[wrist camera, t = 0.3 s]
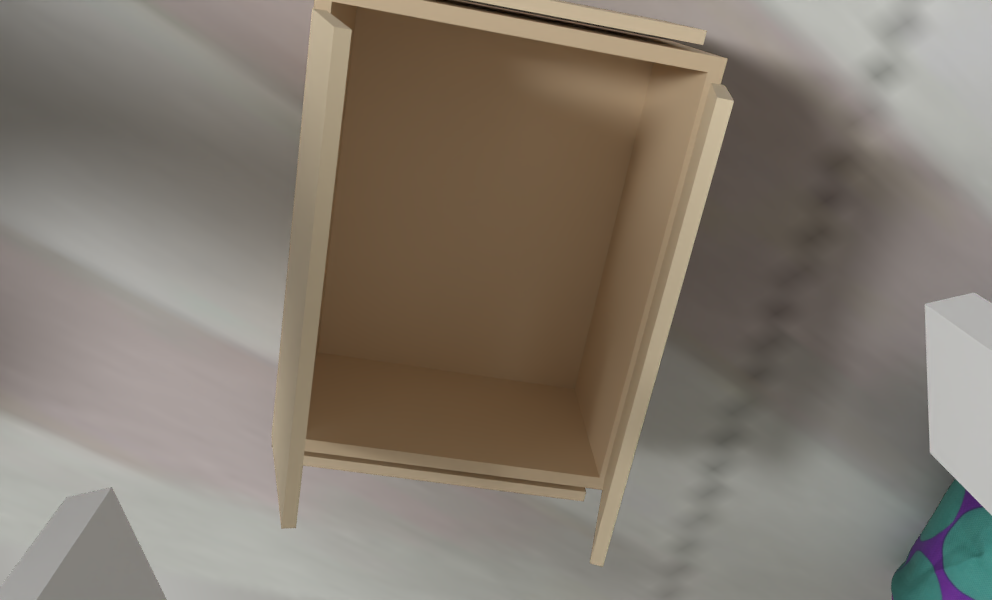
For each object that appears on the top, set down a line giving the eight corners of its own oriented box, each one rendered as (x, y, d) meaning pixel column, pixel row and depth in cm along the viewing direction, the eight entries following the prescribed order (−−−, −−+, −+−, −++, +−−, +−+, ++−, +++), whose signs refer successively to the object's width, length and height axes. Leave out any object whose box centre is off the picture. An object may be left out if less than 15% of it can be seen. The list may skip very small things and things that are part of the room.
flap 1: (271, 437, 34) (281, 528, 29) (312, 8, 28) (334, 26, 23) (283, 437, 35) (295, 527, 29) (326, 10, 28) (351, 29, 23)
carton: (305, 369, 44) (270, 462, 36) (350, -41, 37) (318, -45, 28) (580, 408, 46) (607, 505, 37) (675, 22, 38) (736, 36, 30)
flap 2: (724, 85, 30) (734, 101, 24) (615, 482, 36) (602, 567, 30) (711, 82, 30) (716, 97, 24) (604, 479, 36) (589, 563, 30)
